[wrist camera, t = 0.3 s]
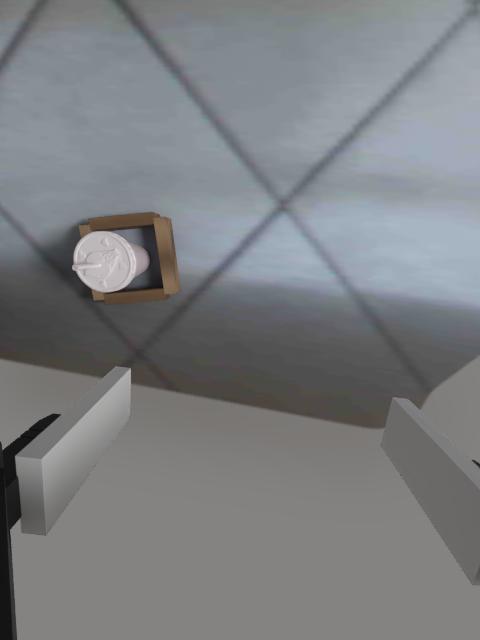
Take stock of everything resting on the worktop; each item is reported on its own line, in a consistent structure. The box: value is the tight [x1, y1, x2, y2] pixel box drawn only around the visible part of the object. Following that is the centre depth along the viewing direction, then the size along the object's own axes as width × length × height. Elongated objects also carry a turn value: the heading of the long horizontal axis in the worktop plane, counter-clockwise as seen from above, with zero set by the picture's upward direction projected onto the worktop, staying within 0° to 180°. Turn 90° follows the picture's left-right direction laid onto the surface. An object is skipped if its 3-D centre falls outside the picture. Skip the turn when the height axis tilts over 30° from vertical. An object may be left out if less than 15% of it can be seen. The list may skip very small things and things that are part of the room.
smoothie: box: [72, 231, 150, 292], centre depth 34 cm, size 6×6×14 cm
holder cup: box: [79, 212, 181, 305], centre depth 39 cm, size 11×11×3 cm
